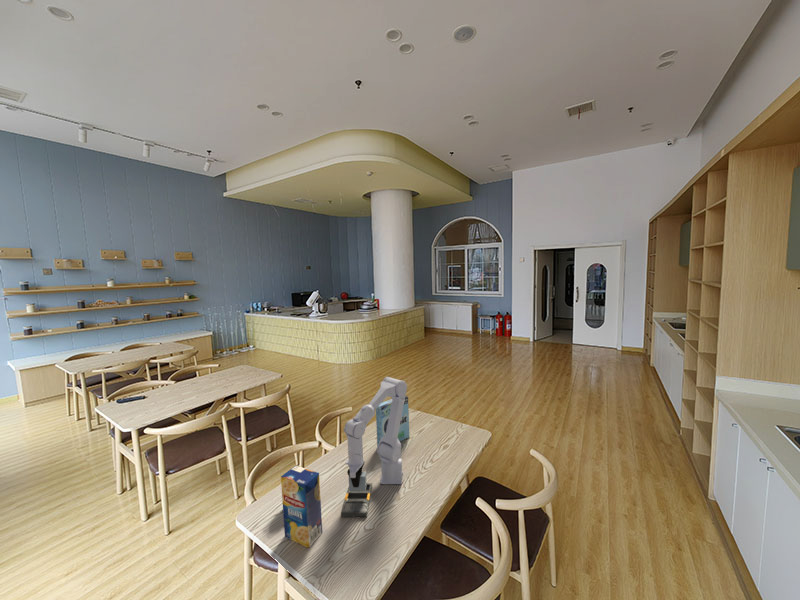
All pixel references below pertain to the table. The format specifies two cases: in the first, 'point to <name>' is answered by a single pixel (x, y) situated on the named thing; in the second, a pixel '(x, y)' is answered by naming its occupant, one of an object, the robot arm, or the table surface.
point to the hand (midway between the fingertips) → (356, 483)
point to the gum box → (383, 418)
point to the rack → (357, 502)
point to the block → (361, 485)
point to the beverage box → (301, 505)
